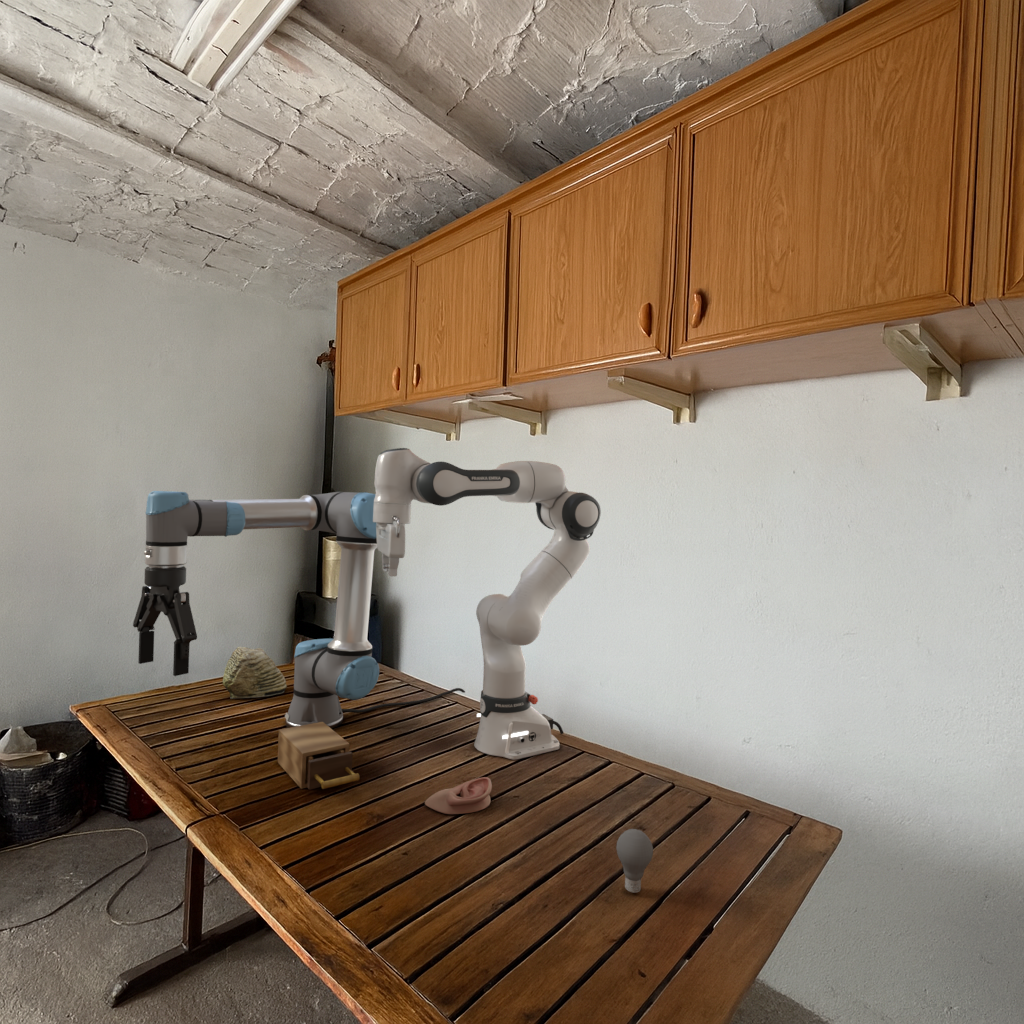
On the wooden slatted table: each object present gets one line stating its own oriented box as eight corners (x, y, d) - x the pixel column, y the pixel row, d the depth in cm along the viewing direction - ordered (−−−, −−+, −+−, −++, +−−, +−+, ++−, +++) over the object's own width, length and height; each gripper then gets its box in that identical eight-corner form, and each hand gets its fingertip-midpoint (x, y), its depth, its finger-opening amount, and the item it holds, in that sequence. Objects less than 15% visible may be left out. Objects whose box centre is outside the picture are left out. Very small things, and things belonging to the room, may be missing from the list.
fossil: (218, 695, 195) (220, 647, 195) (278, 685, 208) (279, 640, 207) (228, 703, 189) (230, 653, 188) (289, 692, 201) (290, 645, 201)
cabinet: (348, 777, 143) (349, 743, 143) (301, 789, 137) (302, 753, 137) (321, 752, 156) (322, 721, 156) (277, 762, 150) (278, 729, 150)
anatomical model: (420, 791, 129) (438, 768, 141) (419, 810, 129) (437, 786, 141) (483, 800, 127) (496, 776, 138) (482, 819, 127) (495, 794, 138)
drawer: (362, 789, 136) (363, 762, 136) (319, 800, 130) (320, 772, 130) (326, 755, 152) (327, 731, 152) (286, 764, 147) (287, 739, 146)
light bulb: (610, 879, 108) (613, 822, 108) (644, 879, 109) (647, 822, 109) (619, 902, 102) (622, 840, 102) (655, 901, 103) (658, 840, 103)
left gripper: (116, 561, 134) (113, 661, 135) (181, 573, 120) (177, 683, 121) (152, 559, 140) (150, 654, 141) (218, 570, 127) (214, 675, 127)
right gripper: (413, 518, 142) (410, 579, 143) (398, 514, 162) (395, 568, 162) (385, 517, 140) (382, 579, 140) (373, 513, 159) (370, 568, 160)
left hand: (162, 668), depth 131 cm, fingers open, 13 cm apart
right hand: (389, 573), depth 151 cm, fingers open, 8 cm apart
